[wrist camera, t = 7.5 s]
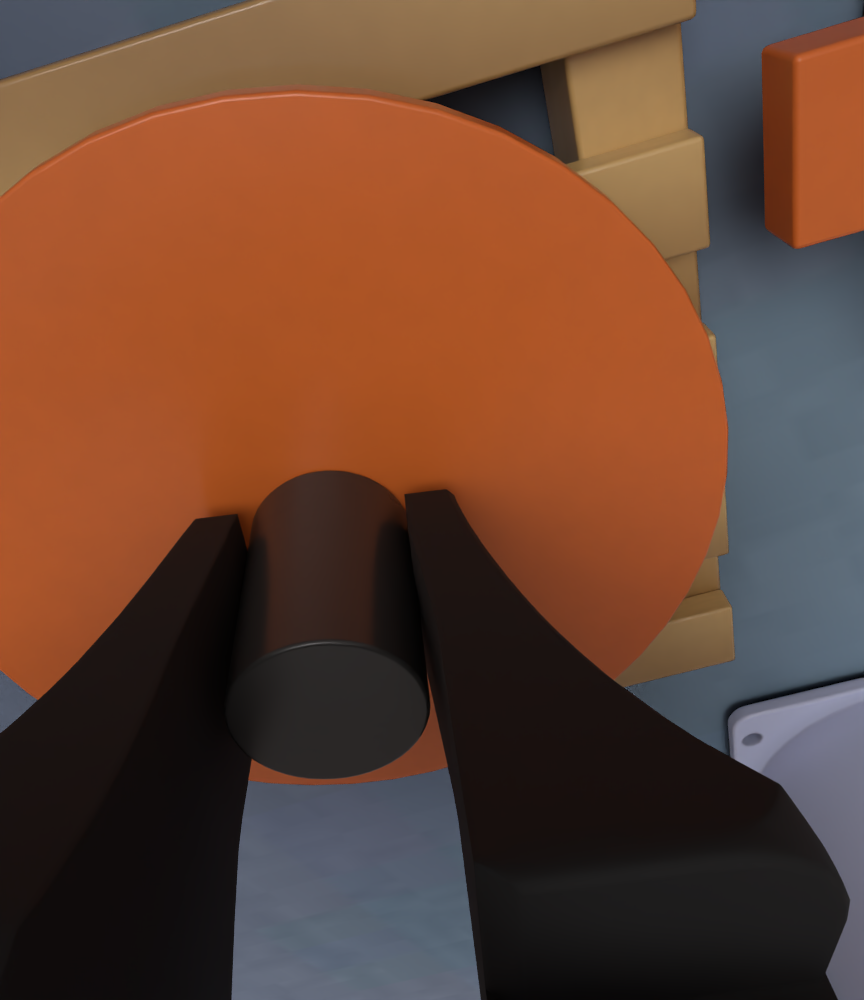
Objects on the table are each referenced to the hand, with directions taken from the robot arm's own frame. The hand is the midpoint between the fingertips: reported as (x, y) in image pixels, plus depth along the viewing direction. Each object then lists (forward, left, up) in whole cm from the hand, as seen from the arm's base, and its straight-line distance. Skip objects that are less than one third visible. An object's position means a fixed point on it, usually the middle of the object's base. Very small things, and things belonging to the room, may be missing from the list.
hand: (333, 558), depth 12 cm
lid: (0, 0, -1) cm, 1 cm away
